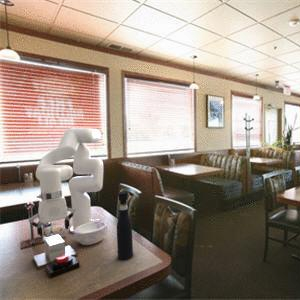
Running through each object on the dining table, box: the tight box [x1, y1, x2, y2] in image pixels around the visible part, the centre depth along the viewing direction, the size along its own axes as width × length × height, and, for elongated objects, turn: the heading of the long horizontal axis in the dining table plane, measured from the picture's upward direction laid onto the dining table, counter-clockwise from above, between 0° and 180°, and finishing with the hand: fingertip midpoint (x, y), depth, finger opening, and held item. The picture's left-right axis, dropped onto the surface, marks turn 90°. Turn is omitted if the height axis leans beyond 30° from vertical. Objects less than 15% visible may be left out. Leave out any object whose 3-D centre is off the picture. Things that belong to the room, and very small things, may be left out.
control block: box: [45, 256, 80, 279], centre depth 98 cm, size 10×8×4 cm
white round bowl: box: [73, 221, 108, 246], centre depth 123 cm, size 15×15×8 cm
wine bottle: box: [116, 191, 134, 261], centre depth 106 cm, size 6×6×30 cm
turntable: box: [32, 245, 78, 270], centre depth 106 cm, size 14×12×2 cm
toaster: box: [43, 234, 66, 261], centre depth 106 cm, size 11×6×7 cm, turn 47°
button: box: [56, 254, 68, 263], centre depth 97 cm, size 4×4×2 cm
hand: (54, 231), depth 106 cm, fingers open, 9 cm apart
